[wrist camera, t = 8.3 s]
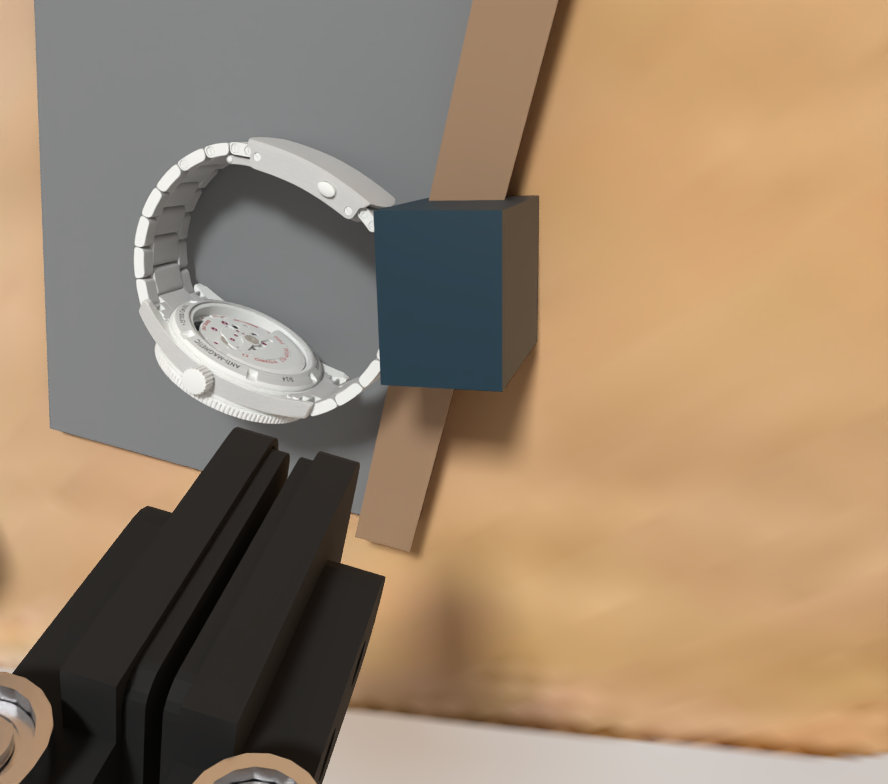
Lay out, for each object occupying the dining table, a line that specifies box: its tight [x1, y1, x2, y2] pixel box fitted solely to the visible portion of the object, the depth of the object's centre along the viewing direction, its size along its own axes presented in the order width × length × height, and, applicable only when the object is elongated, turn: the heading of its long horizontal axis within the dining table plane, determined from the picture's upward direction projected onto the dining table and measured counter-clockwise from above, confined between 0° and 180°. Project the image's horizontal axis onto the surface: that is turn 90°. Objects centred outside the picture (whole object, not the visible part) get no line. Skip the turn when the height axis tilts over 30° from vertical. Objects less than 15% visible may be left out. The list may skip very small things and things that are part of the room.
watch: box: [134, 137, 539, 424], centre depth 24 cm, size 6×8×11 cm
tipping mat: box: [34, 0, 559, 552], centre depth 24 cm, size 24×14×2 cm, turn 167°
